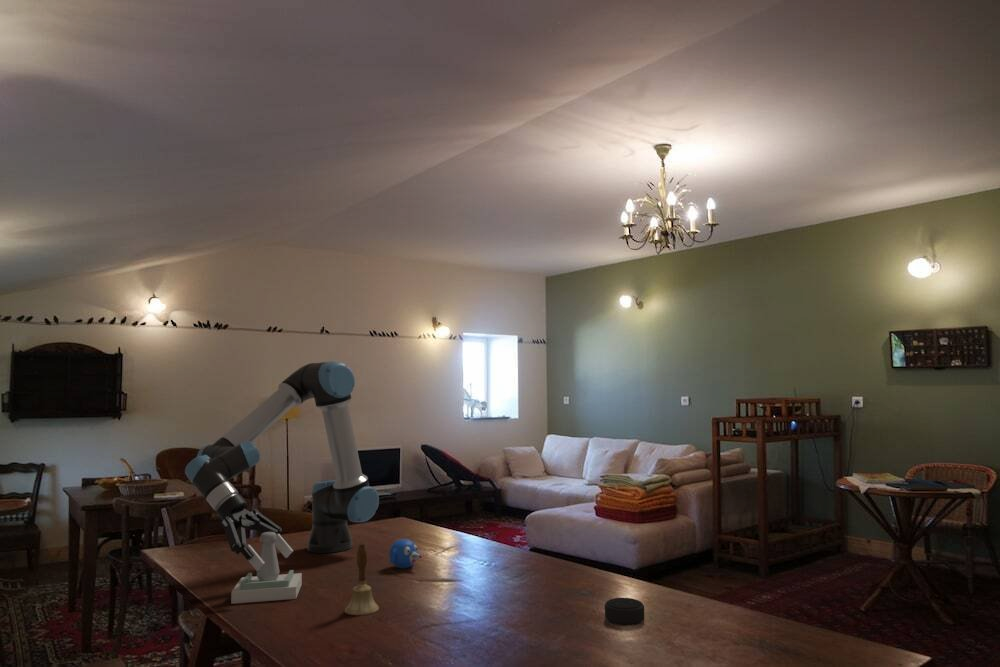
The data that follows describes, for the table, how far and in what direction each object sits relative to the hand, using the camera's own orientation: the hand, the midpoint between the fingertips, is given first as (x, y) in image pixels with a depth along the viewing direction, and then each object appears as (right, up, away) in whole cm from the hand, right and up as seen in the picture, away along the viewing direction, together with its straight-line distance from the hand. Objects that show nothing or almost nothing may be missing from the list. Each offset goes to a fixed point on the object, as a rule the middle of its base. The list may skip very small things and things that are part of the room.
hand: (275, 560), depth 182 cm
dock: (-2, -9, 0) cm, 9 cm away
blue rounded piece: (+32, -10, +22) cm, 41 cm away
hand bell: (+26, -7, -16) cm, 32 cm away
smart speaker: (+89, -4, -28) cm, 93 cm away
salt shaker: (-2, -6, 0) cm, 6 cm away
